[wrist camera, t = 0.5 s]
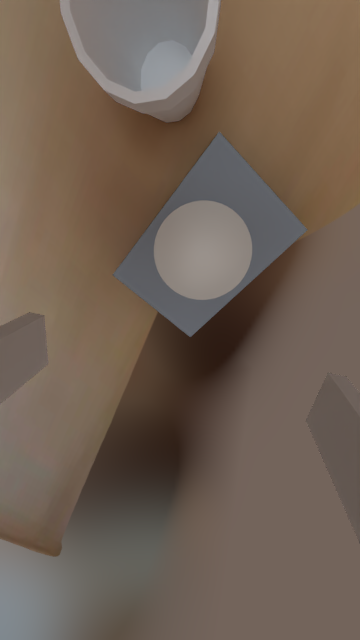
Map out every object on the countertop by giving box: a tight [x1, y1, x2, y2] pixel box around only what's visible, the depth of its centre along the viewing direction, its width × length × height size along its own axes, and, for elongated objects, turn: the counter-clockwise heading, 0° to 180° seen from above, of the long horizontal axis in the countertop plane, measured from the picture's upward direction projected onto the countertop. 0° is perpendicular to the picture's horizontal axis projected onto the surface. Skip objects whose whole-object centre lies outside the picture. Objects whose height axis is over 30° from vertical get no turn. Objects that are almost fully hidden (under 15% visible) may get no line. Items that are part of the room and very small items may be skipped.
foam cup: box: [60, 0, 221, 123], centre depth 19 cm, size 10×9×13 cm
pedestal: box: [113, 132, 307, 337], centre depth 31 cm, size 20×14×3 cm
